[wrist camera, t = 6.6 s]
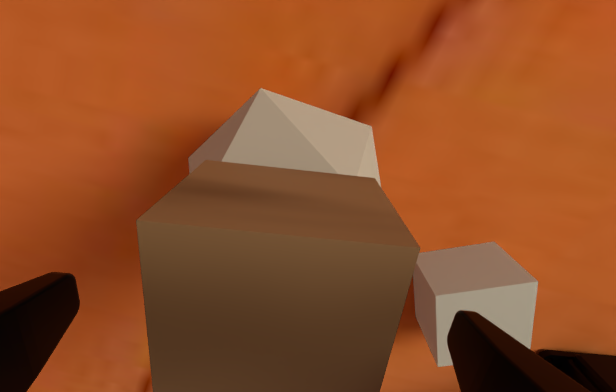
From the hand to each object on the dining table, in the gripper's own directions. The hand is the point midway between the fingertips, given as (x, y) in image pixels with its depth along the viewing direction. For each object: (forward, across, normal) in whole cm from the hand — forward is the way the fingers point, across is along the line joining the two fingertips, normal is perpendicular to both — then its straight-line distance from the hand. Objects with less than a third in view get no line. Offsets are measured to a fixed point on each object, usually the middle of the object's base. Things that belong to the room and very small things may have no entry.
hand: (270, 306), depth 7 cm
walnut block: (+3, 0, 0) cm, 3 cm away
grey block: (+11, -11, +6) cm, 17 cm away
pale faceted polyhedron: (+11, 0, 0) cm, 11 cm away
